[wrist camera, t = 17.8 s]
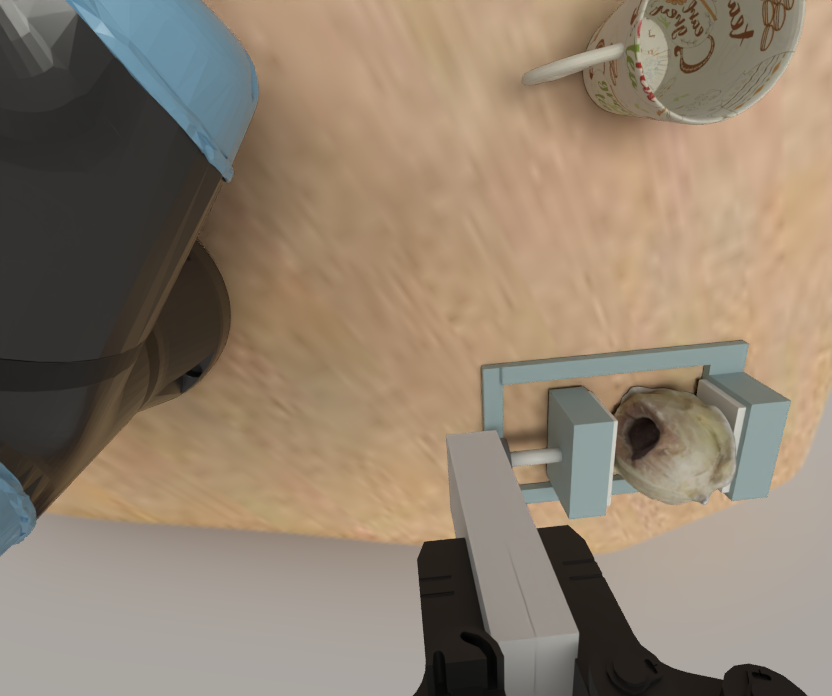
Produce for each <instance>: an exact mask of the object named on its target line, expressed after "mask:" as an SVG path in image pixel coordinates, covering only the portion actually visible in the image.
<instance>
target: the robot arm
mask: <svg viewBox="0 0 832 696" xmlns="http://www.w3.org/2000/svg"><path fill="white" fill-rule="evenodd" d="M258 97H259V85H258V79H257V75H256V72H255V67H254V65H253V63H252V61H251V59H250V57H249V55H248V53H247V52H246V50H245V49H244V47H243V46H242V44H241V43H240V42H239V40H238V39H237V38H236V36H235V35H234V34H233V33H232V32H231V31H230V29H229V28H228V27H227V26H226V25H225V24H224V23H223V22H222V21H221V20H220V19H219V17H218V16H217V15H216V14H215V13H214V12H213V11H212V10H211V9H210V8H209V7H208V6H207V5H206V4H205V3H204V2H203V1H202V0H0V556H1V555H2V554H3V553H4V552H5V551H6V550H7V549H8V548H10V547H11V546H12V545H14V544H18V543H20V542H21V541H23V540H24V538H25V537H27V536H28V535H29V534H30V533H31V531H32V530H33V529H34V527H35V524H36V520H37V519H38V518H39V517H40V516H41V515H42V514H43V513H44V512H45V511H46V510H47V508H48V507H49V506H50V505H51V504H52V503H53V502H54V501H55V500H56V499H57V498H58V497H59V496H60V495H61V493H62V492H63V491H64V490H65V489H66V488H67V487H68V486H69V485H70V484H71V483H72V482H73V481H74V480H75V478H76V477H77V476H78V475H79V474H80V473H81V472H82V471H83V470H84V469H85V468H86V467H87V466H88V465H89V463H90V462H91V461H92V460H93V459H94V458H95V457H96V456H97V455H98V454H99V453H100V452H101V451H102V450H103V449H104V447H105V446H106V445H107V444H108V443H109V442H110V441H111V440H112V439H113V438H114V437H115V436H116V435H117V434H118V432H119V431H120V430H121V429H122V428H123V427H124V426H125V425H126V424H127V423H128V422H129V421H130V420H131V418H132V417H133V416H134V415H135V414H136V413H137V412H139V411H142V410H145V409H147V408H150V407H153V406H155V405H158V404H161V403H163V402H166V401H169V400H171V399H174V398H176V397H178V396H180V395H182V394H183V393H185V392H186V391H188V390H189V389H191V388H192V387H193V386H195V385H196V384H197V383H198V382H199V381H200V380H201V379H202V378H203V377H204V376H205V375H206V374H207V372H208V371H209V370H210V369H211V367H212V366H213V365H214V364H215V362H216V361H217V360H218V358H219V356H220V355H221V353H222V351H223V349H224V346H225V344H226V341H227V338H228V334H229V328H230V304H229V298H228V294H227V290H226V287H225V284H224V281H223V279H222V277H221V274H220V273H219V271H218V269H217V267H216V265H215V264H214V262H213V260H212V259H211V257H210V256H209V255H208V253H207V252H206V251H205V250H204V248H203V247H202V246H201V245H200V244H199V243H198V242H197V241H196V238H197V236H198V234H199V232H200V230H201V228H202V226H203V224H204V222H205V220H206V217H207V215H208V213H209V211H210V209H211V207H212V205H213V203H214V201H215V199H216V197H217V195H218V193H219V191H220V189H221V186H222V184H223V182H224V181H225V182H228V183H229V182H230V181H231V179H232V177H233V174H234V170H233V167H232V164H233V161H234V159H235V157H236V154H237V152H238V150H239V147H240V145H241V143H242V140H243V138H244V136H245V133H246V131H247V129H248V126H249V124H250V122H251V119H252V117H253V115H254V112H255V109H256V106H257V102H258ZM446 442H447V459H448V475H449V491H450V507H451V514H452V519H453V524H454V529H455V534H456V538H455V539H446V540H437V541H427V542H424V544H423V546H422V549H421V551H420V554H419V556H418V559H417V563H418V574H419V586H420V598H421V610H422V621H423V633H424V644H425V657H426V668H425V674H424V677H423V680H422V683H421V685H420V687H419V688H418V690H417V692H416V693H415V694H414V695H413V696H807V695H806V694H805V693H804V692H803V691H802V690H801V689H800V688H798V687H797V686H796V685H795V684H793V683H792V682H791V681H790V680H788V679H787V678H786V677H784V676H783V675H781V674H779V673H777V672H774V671H772V670H770V669H768V668H766V667H762V666H757V665H752V664H743V665H737V666H733V667H732V668H731V669H730V670H729V671H727V672H726V673H725V675H724V680H721V679H716V678H711V677H707V676H701V675H697V674H692V673H687V672H684V671H680V670H677V669H674V668H672V667H670V666H668V665H666V664H664V663H662V662H660V661H659V660H658V658H657V657H656V656H655V655H654V654H652V653H651V652H650V651H648V650H647V649H646V648H644V647H643V646H642V645H641V644H640V643H639V641H638V640H637V638H636V637H635V635H634V634H633V632H632V630H631V628H630V626H629V624H628V622H627V620H626V619H625V616H624V614H623V613H622V611H621V609H620V607H619V605H618V603H617V601H616V599H615V597H614V595H613V593H612V592H611V590H610V588H609V586H608V584H607V582H606V580H605V578H604V577H603V576H602V572H601V570H600V568H599V567H598V565H597V563H596V562H595V561H594V557H593V555H592V553H591V551H590V549H589V547H588V545H587V544H586V542H585V540H584V539H583V538H582V537H581V536H580V535H579V534H577V533H576V532H575V531H574V530H573V529H572V528H571V527H570V526H569V525H564V526H555V527H545V528H536V526H535V524H534V521H533V519H532V516H531V514H530V511H529V509H528V507H527V504H526V502H525V499H524V497H523V494H522V492H521V489H520V487H519V485H518V482H517V480H516V477H515V475H514V472H513V470H512V467H511V465H510V463H509V460H508V458H507V455H506V453H505V450H504V448H503V445H502V443H501V441H500V438H499V436H498V433H497V431H496V430H491V431H481V432H471V433H462V434H452V435H446Z"/></svg>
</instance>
